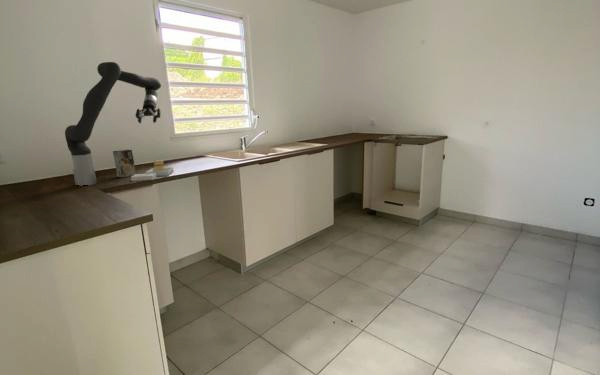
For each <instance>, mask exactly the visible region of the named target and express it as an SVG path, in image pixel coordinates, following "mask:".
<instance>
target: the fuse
mask: <svg viewBox="0 0 600 375" xmlns="http://www.w3.org/2000/svg"><path fill="white" fill-rule="evenodd" d="M153 164H154V168H155V172H160V171H164V168H165V165H164V160H163V159H162V160H153Z"/></svg>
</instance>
